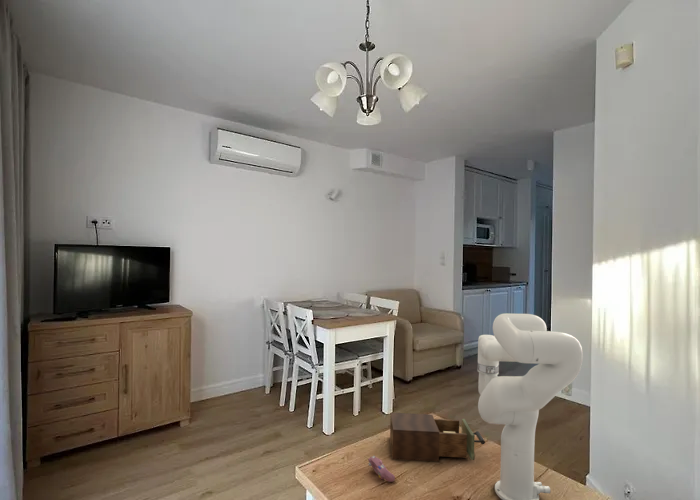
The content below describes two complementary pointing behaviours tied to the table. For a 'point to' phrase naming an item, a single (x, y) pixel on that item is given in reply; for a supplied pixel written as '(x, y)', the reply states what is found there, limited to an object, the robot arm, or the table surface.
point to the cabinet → (414, 437)
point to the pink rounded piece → (380, 469)
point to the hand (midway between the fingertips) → (486, 416)
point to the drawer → (456, 439)
